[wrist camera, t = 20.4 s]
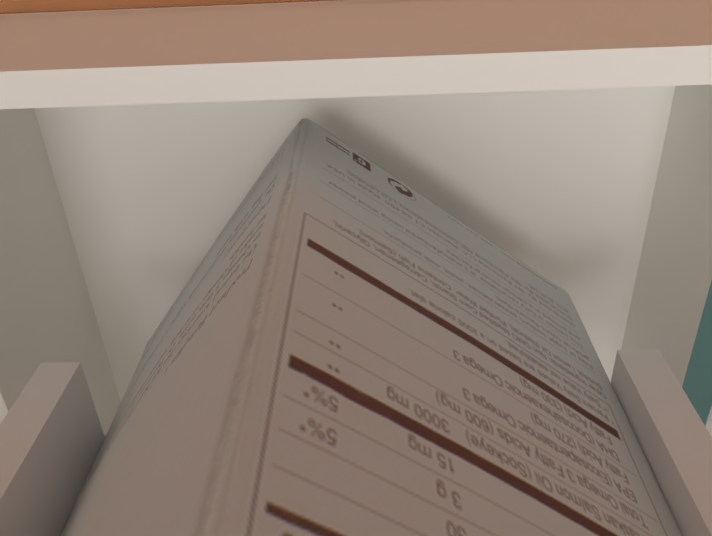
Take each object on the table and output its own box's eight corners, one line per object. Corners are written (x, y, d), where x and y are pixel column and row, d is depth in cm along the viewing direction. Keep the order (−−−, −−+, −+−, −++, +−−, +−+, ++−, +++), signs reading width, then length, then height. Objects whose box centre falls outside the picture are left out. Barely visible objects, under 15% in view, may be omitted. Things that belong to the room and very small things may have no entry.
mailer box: (121, 431, 22) (55, 580, 17) (-7, 14, 15) (-168, 77, 11) (617, 423, 21) (683, 575, 17) (713, -15, 15) (868, 39, 10)
